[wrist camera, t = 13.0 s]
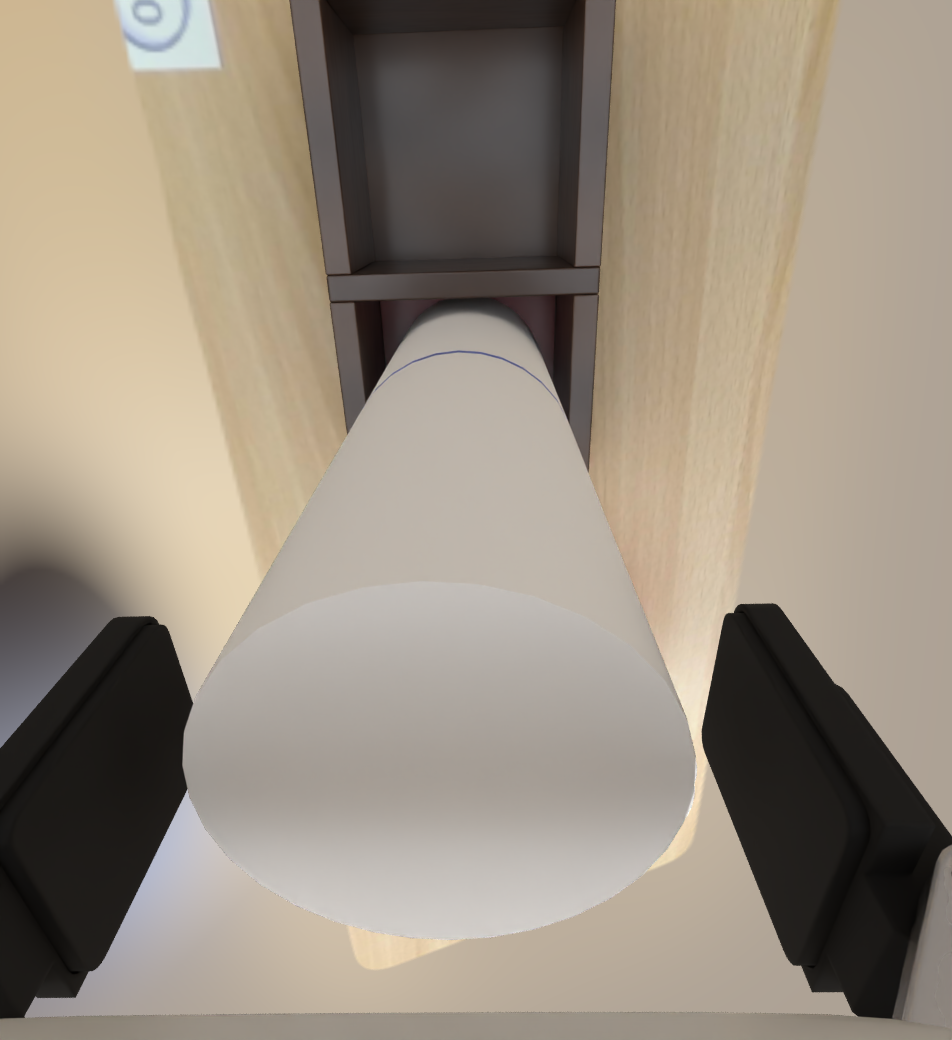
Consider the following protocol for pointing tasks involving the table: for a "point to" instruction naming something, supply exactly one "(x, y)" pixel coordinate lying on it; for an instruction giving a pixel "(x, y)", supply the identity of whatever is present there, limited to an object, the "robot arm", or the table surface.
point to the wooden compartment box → (459, 172)
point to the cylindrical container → (446, 667)
